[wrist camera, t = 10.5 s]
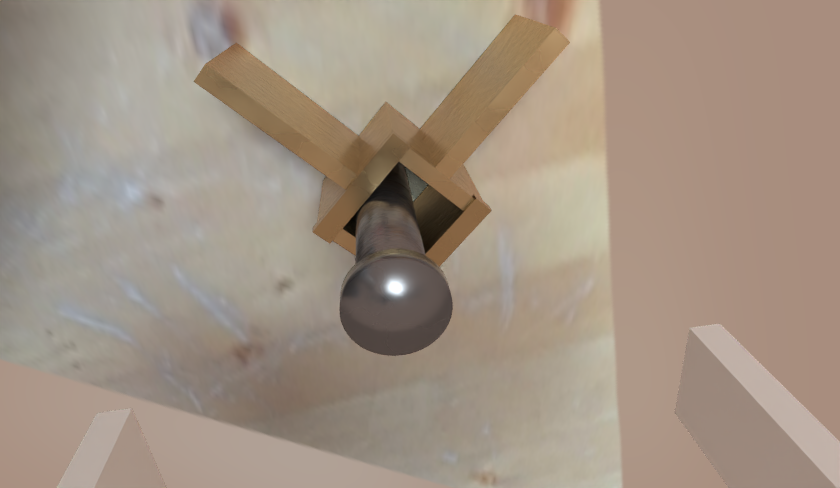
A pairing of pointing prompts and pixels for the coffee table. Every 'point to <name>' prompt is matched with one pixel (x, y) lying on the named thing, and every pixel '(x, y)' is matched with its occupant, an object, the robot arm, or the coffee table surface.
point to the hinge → (393, 134)
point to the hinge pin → (393, 276)
